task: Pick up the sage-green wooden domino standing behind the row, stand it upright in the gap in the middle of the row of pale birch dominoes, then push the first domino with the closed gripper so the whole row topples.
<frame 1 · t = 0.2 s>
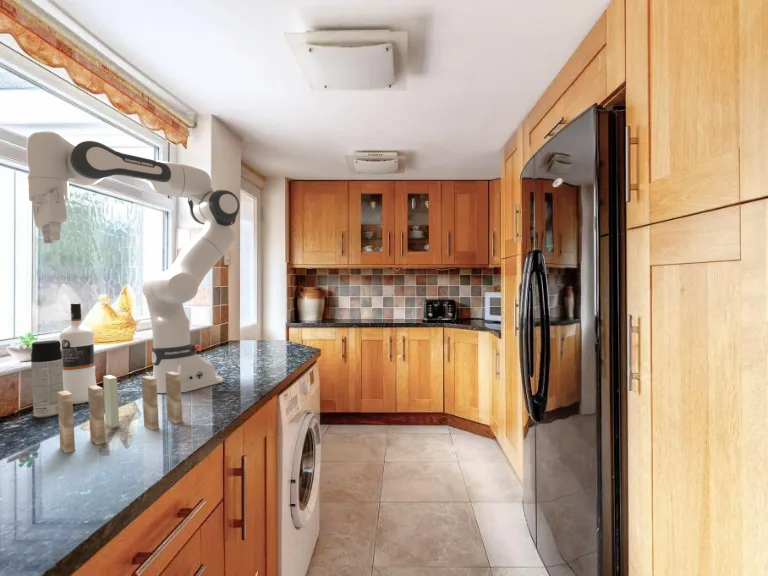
hand: (51, 241, 116), 47 cm above the countertop, tool pointing down, fingers open, 8 cm apart
domino 1: (174, 420, 106), on the countertop
domino 4: (97, 441, 93), on the countertop
spray can: (49, 414, 116), on the countertop
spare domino: (112, 425, 104), on the countertop
vodka: (80, 401, 128), on the countertop
domino 5: (67, 449, 89), on the countertop
domino 2: (151, 427, 102), on the countertop
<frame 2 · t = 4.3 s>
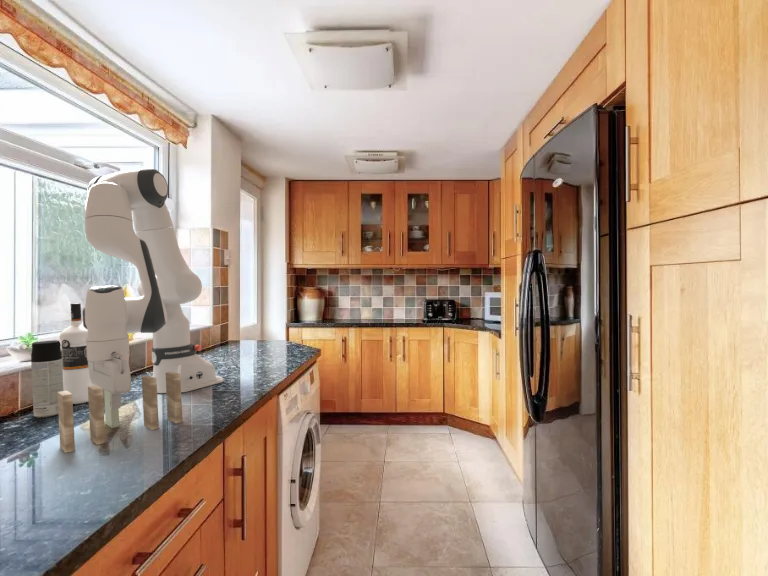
hand: (111, 406, 104), 5 cm above the countertop, tool pointing down, fingers closed on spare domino, 5 cm apart
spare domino: (112, 425, 104), on the countertop, touching gripper
everything else where it was.
when the fingers open (6 cm above the countertop, at t = 10.6 s): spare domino stays where it is, on the countertop.
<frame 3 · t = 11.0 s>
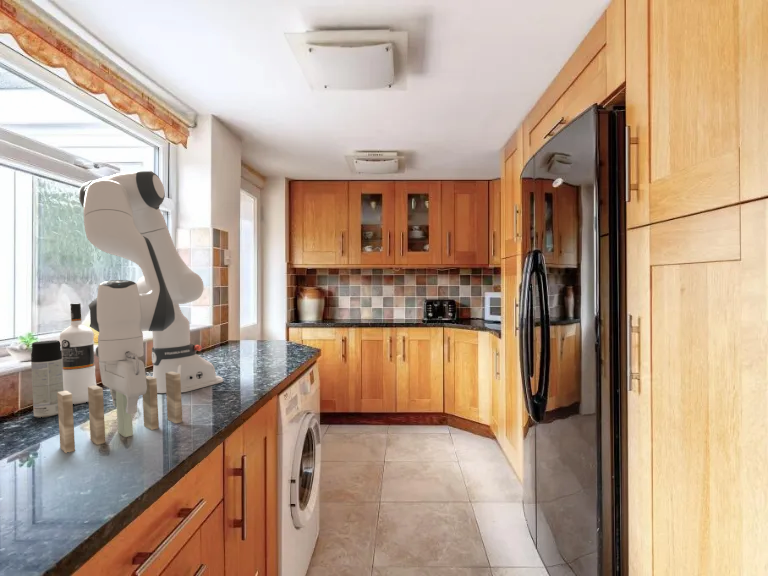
hand: (124, 409, 97), 6 cm above the countertop, tool pointing down, fingers open, 8 cm apart
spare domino: (125, 433, 97), on the countertop
everything else where it was.
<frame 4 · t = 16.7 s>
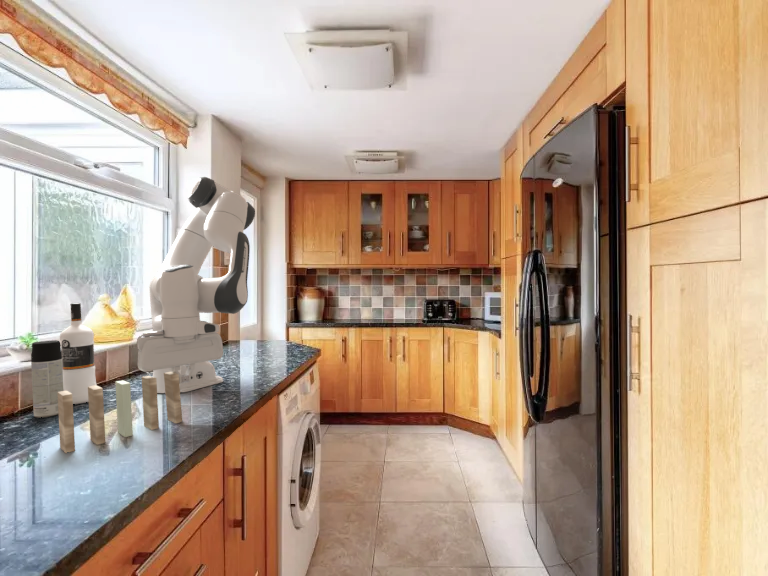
hand: (183, 382, 107), 9 cm above the countertop, tool pointing down, fingers closed
domino 1: (174, 420, 106), on the countertop, touching gripper
everything else where it was.
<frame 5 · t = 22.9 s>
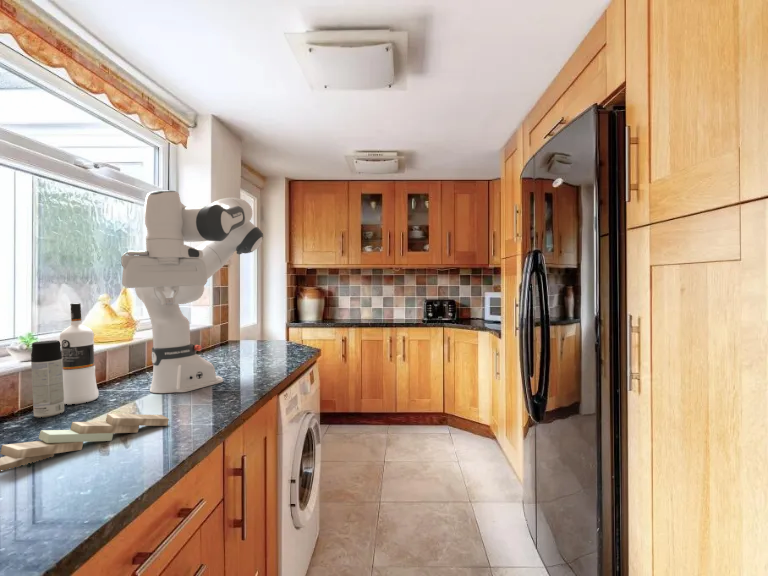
hand: (168, 304, 111), 29 cm above the countertop, tool pointing down, fingers closed
domino 1: (164, 420, 104), point 1 cm above the countertop, tilted 74°, touching domino 2
domino 4: (74, 443, 90), point 1 cm above the countertop, tilted 76°, touching domino 5, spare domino
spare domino: (107, 434, 95), point 1 cm above the countertop, tilted 74°, touching domino 2, domino 4
domino 5: (50, 451, 87), on the countertop, tilted 90°, touching domino 4
domino 2: (133, 427, 100), point 1 cm above the countertop, tilted 74°, touching domino 1, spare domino
everything else where it was.
at the end: domino 5 tilted 90°; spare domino tilted 74°; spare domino inside the target area (1.6 cm from its centre), point 0.8 cm above the countertop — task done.
